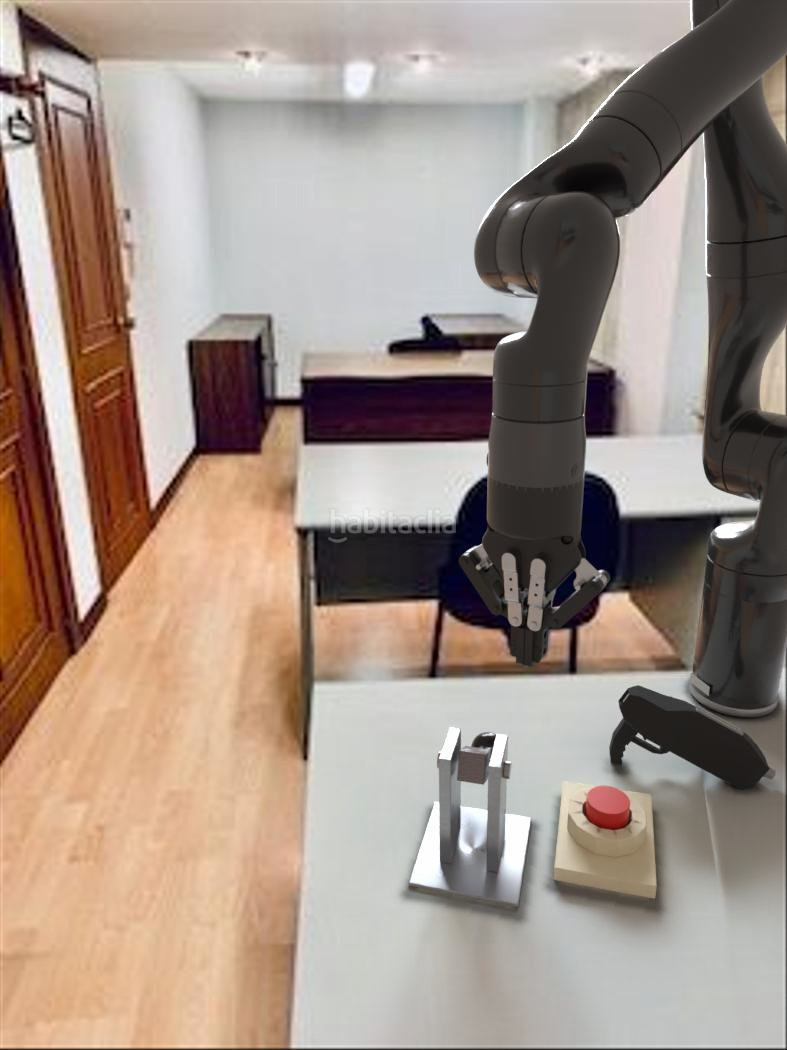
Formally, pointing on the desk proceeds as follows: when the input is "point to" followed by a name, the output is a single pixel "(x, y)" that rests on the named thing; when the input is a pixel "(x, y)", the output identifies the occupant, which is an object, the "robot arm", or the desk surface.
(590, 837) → the button block
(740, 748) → the gun
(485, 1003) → the desk surface
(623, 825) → the button
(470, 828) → the lever bracket
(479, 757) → the press lever
